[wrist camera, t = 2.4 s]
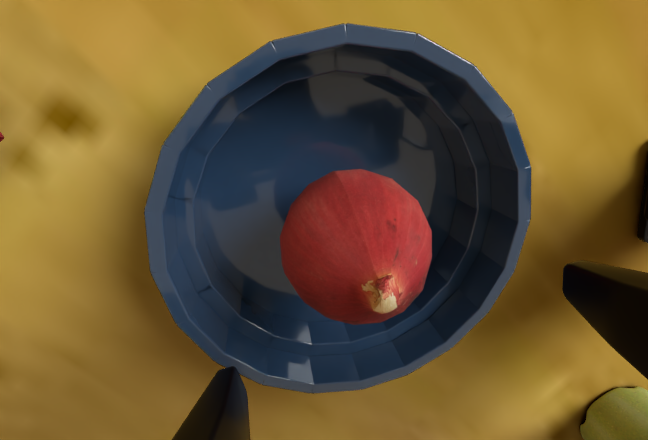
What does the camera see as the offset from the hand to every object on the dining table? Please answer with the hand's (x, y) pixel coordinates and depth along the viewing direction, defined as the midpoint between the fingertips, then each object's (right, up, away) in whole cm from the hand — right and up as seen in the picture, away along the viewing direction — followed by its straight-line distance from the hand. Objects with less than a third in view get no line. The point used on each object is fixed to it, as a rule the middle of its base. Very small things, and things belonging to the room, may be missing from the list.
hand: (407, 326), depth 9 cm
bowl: (-2, +3, +8) cm, 9 cm away
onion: (-2, +3, +8) cm, 9 cm away
